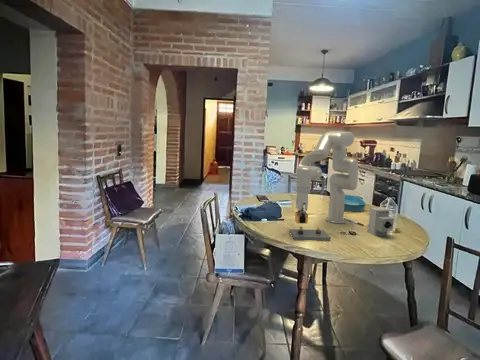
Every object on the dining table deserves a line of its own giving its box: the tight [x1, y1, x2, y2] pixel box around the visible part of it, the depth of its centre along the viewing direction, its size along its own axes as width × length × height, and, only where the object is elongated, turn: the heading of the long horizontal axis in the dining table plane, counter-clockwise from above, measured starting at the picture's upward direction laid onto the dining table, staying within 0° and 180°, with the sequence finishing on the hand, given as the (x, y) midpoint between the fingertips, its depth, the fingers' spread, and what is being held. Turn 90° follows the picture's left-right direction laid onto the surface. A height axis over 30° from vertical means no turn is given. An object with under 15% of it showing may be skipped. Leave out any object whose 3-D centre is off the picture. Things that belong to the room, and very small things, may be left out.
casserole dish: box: [344, 193, 367, 213], centre depth 271 cm, size 37×22×7 cm, turn 173°
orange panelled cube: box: [294, 211, 309, 225], centre depth 194 cm, size 6×6×5 cm
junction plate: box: [289, 226, 331, 242], centre depth 196 cm, size 14×20×6 cm
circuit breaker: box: [366, 206, 395, 237], centre depth 202 cm, size 8×14×15 cm, turn 15°
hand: (301, 221), depth 194 cm, fingers closed on orange panelled cube, 6 cm apart
